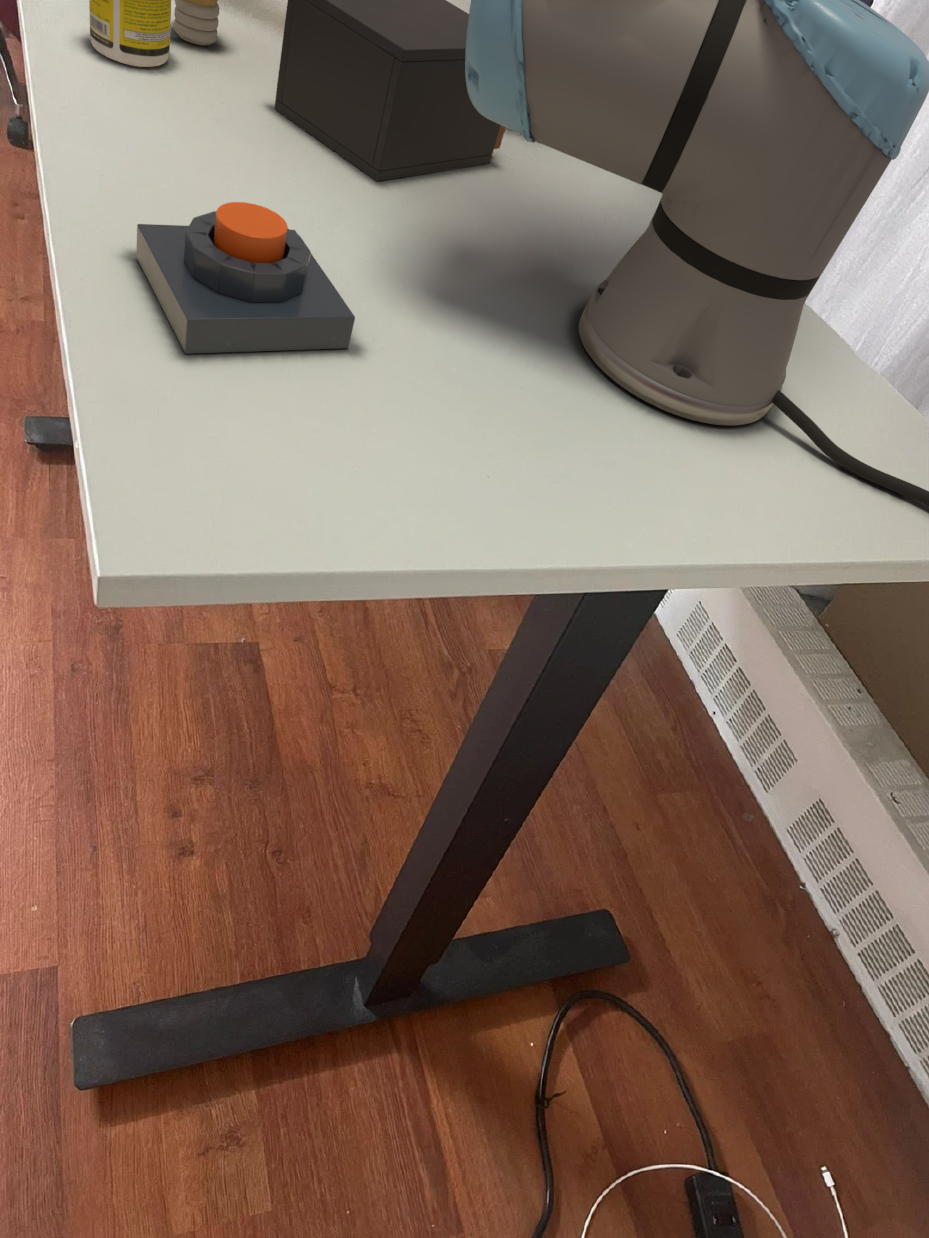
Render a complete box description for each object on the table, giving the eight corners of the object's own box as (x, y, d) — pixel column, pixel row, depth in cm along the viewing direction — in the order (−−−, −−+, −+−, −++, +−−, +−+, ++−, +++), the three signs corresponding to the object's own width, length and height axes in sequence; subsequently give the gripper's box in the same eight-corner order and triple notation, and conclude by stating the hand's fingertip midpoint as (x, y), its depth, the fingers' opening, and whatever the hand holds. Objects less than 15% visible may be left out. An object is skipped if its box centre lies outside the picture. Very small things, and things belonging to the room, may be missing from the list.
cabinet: (393, 99, 85) (418, -17, 78) (489, 163, 81) (524, 47, 75) (274, 109, 76) (290, -23, 69) (376, 181, 72) (404, 50, 65)
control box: (348, 348, 55) (362, 289, 52) (185, 354, 50) (189, 289, 47) (290, 260, 60) (299, 202, 57) (135, 258, 55) (137, 193, 52)
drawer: (420, 91, 86) (442, -2, 81) (507, 147, 83) (536, 55, 77) (305, 99, 77) (320, -5, 71) (398, 163, 73) (421, 59, 68)
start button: (293, 267, 52) (298, 239, 51) (226, 266, 50) (229, 236, 49) (269, 231, 54) (273, 203, 53) (204, 229, 52) (206, 199, 51)
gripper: (700, -51, 84) (536, 147, 85) (594, -105, 88) (438, 84, 89) (700, -127, 77) (520, 90, 78) (584, -183, 81) (415, 24, 82)
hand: (477, 86), depth 84 cm, fingers closed
